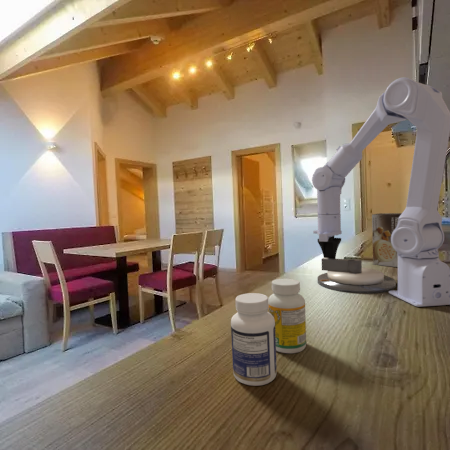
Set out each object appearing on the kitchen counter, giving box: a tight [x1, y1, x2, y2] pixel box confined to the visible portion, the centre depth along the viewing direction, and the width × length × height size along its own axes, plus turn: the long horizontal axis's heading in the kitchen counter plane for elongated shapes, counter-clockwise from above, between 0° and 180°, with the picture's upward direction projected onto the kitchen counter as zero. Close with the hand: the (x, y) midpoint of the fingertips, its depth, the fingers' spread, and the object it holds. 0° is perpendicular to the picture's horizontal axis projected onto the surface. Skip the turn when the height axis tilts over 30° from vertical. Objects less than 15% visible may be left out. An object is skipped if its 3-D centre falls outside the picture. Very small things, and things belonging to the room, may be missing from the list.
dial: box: [321, 257, 385, 285], centre depth 79 cm, size 14×13×5 cm
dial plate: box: [317, 272, 397, 294], centre depth 78 cm, size 18×18×1 cm
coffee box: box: [371, 212, 403, 268], centre depth 97 cm, size 9×6×16 cm
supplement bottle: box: [267, 278, 307, 354], centre depth 46 cm, size 5×5×10 cm
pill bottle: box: [230, 292, 278, 387], centre depth 38 cm, size 5×5×10 cm
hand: (329, 265), depth 83 cm, fingers closed
